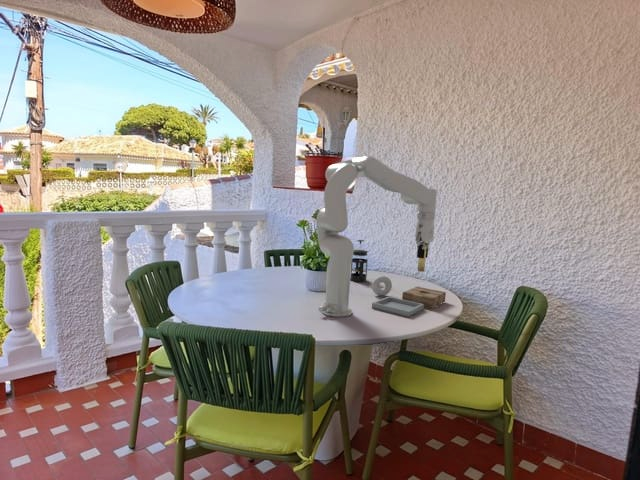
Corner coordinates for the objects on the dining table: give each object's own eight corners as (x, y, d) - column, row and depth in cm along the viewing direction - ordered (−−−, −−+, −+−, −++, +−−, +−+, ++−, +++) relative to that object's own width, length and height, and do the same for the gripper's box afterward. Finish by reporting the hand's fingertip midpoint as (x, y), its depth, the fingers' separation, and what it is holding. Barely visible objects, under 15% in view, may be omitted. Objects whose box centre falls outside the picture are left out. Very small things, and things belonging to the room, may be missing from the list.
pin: (422, 271, 171) (425, 245, 170) (416, 270, 173) (418, 244, 171) (425, 270, 173) (427, 244, 172) (419, 269, 175) (421, 243, 174)
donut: (372, 296, 184) (373, 276, 183) (370, 294, 187) (371, 274, 186) (392, 296, 186) (393, 276, 184) (389, 294, 189) (391, 274, 188)
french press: (348, 278, 222) (350, 238, 219) (364, 278, 223) (366, 239, 220) (352, 283, 210) (354, 241, 207) (369, 283, 211) (371, 241, 209)
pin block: (431, 309, 167) (432, 298, 166) (401, 303, 175) (402, 292, 175) (444, 302, 179) (445, 292, 179) (416, 296, 188) (417, 286, 187)
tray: (408, 317, 155) (408, 311, 154) (371, 308, 165) (372, 302, 165) (423, 309, 166) (424, 304, 166) (388, 301, 177) (388, 296, 177)
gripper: (426, 217, 162) (422, 260, 164) (440, 217, 174) (437, 257, 177) (410, 216, 166) (406, 258, 168) (425, 215, 179) (421, 254, 181)
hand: (422, 257), depth 172 cm, fingers closed on pin, 3 cm apart
